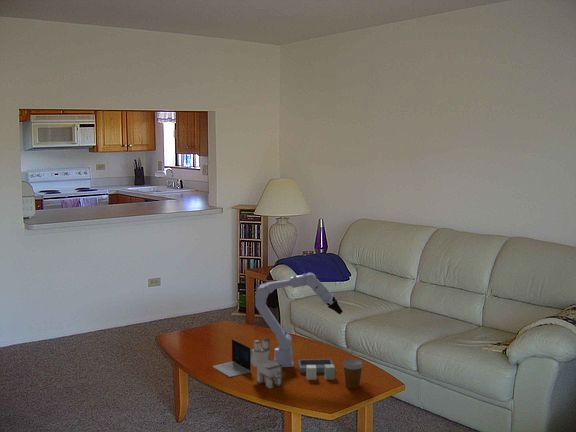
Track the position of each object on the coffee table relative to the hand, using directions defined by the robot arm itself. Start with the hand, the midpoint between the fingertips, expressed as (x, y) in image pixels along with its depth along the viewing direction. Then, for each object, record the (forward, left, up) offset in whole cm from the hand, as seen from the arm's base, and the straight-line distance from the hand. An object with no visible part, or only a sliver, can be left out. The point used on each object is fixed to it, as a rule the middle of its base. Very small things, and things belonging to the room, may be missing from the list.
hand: (340, 311), depth 335 cm
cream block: (-16, -16, -29) cm, 37 cm away
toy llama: (-38, -20, -29) cm, 52 cm away
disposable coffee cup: (+2, -27, -29) cm, 40 cm away
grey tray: (-13, -4, -29) cm, 32 cm away
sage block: (-7, -16, -29) cm, 34 cm away
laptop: (-56, -1, -29) cm, 63 cm away
